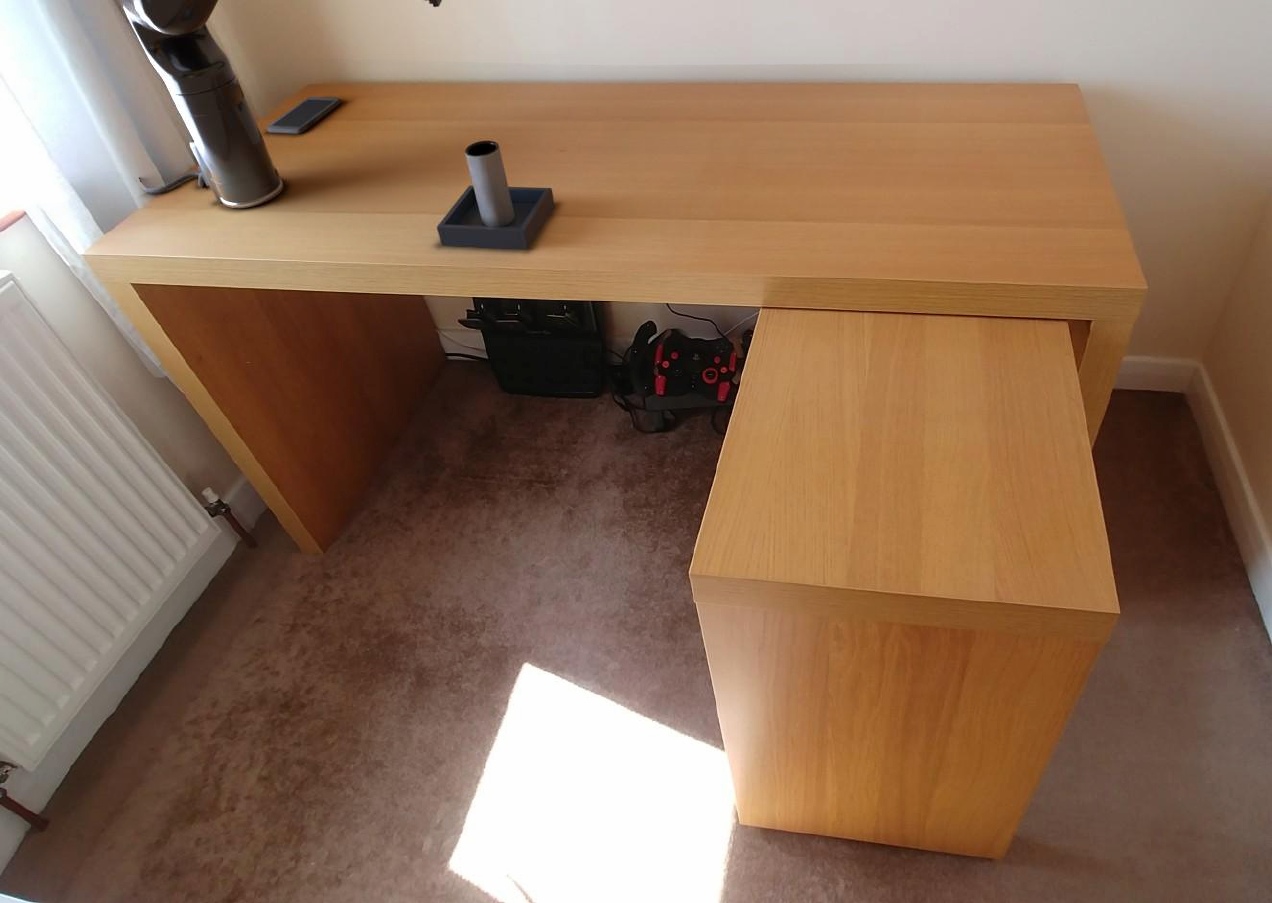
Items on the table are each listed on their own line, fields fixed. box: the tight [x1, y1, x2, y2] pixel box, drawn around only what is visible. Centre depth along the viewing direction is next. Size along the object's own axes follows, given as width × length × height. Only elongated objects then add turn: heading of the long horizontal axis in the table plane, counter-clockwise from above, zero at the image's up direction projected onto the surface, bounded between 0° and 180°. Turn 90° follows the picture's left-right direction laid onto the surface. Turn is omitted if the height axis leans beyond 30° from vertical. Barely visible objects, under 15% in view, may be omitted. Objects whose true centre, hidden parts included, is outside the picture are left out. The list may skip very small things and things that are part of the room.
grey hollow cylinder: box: [464, 140, 515, 227], centre depth 111 cm, size 4×4×10 cm
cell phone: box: [266, 96, 342, 134], centre depth 150 cm, size 7×14×1 cm, turn 161°
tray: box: [436, 185, 556, 251], centre depth 114 cm, size 13×12×3 cm
